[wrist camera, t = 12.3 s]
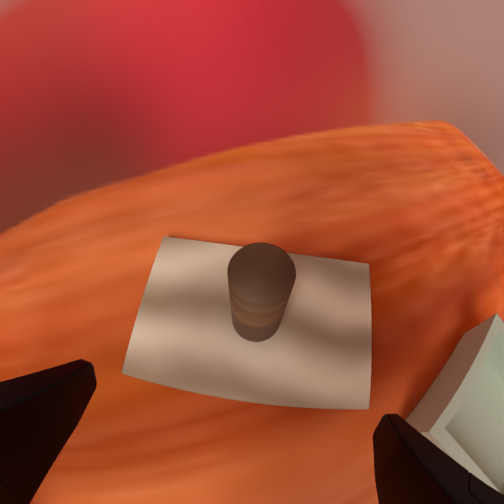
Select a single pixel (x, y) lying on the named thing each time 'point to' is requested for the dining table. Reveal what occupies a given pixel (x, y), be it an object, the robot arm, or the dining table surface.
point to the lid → (255, 325)
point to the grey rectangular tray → (469, 404)
